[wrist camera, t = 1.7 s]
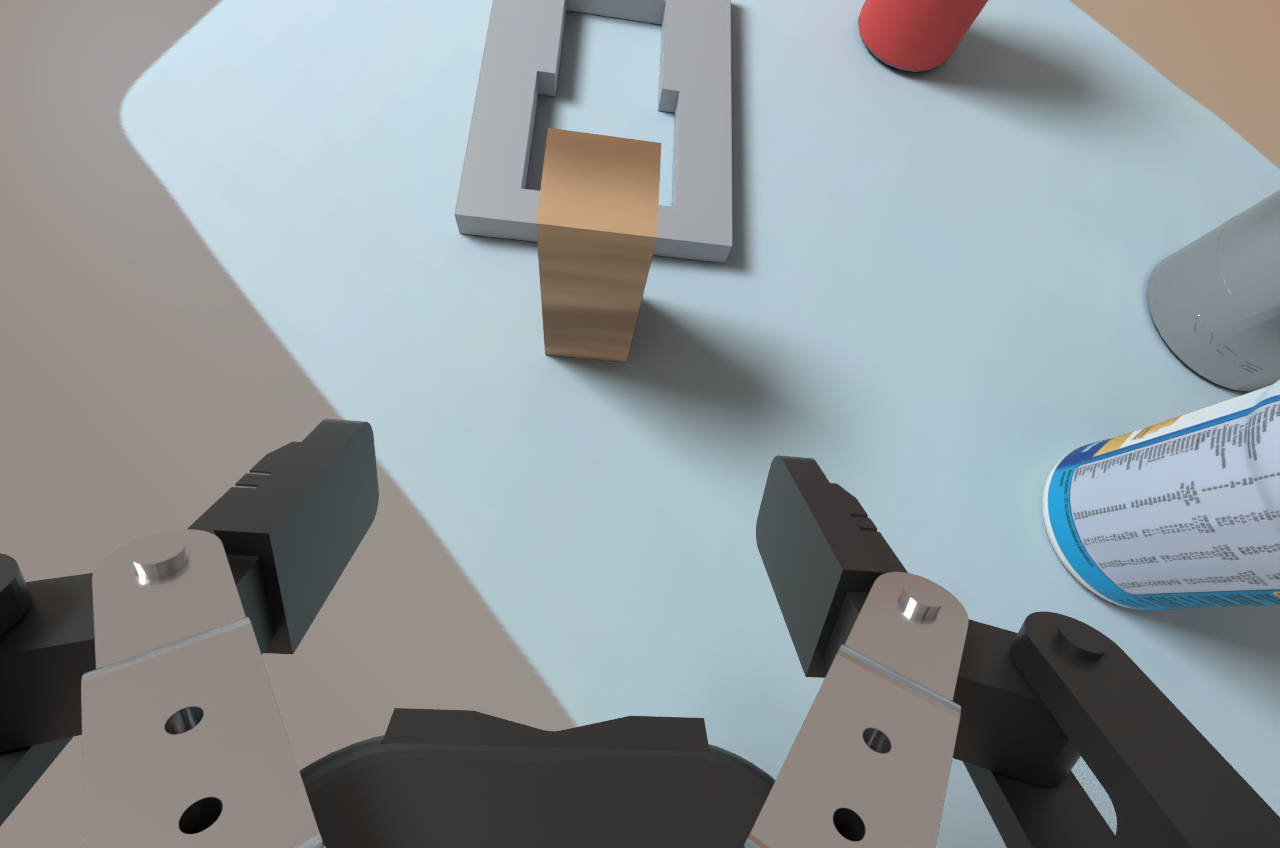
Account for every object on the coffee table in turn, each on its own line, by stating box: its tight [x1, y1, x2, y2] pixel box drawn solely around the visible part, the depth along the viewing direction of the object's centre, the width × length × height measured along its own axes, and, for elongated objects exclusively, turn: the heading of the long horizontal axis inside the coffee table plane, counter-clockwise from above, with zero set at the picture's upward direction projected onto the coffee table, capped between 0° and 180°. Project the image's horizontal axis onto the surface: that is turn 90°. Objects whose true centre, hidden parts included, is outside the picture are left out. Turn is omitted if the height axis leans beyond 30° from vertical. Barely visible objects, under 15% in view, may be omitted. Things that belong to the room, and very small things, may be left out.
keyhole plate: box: [455, 0, 732, 263], centre depth 33 cm, size 20×14×2 cm
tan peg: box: [536, 128, 661, 362], centre depth 24 cm, size 4×4×10 cm
